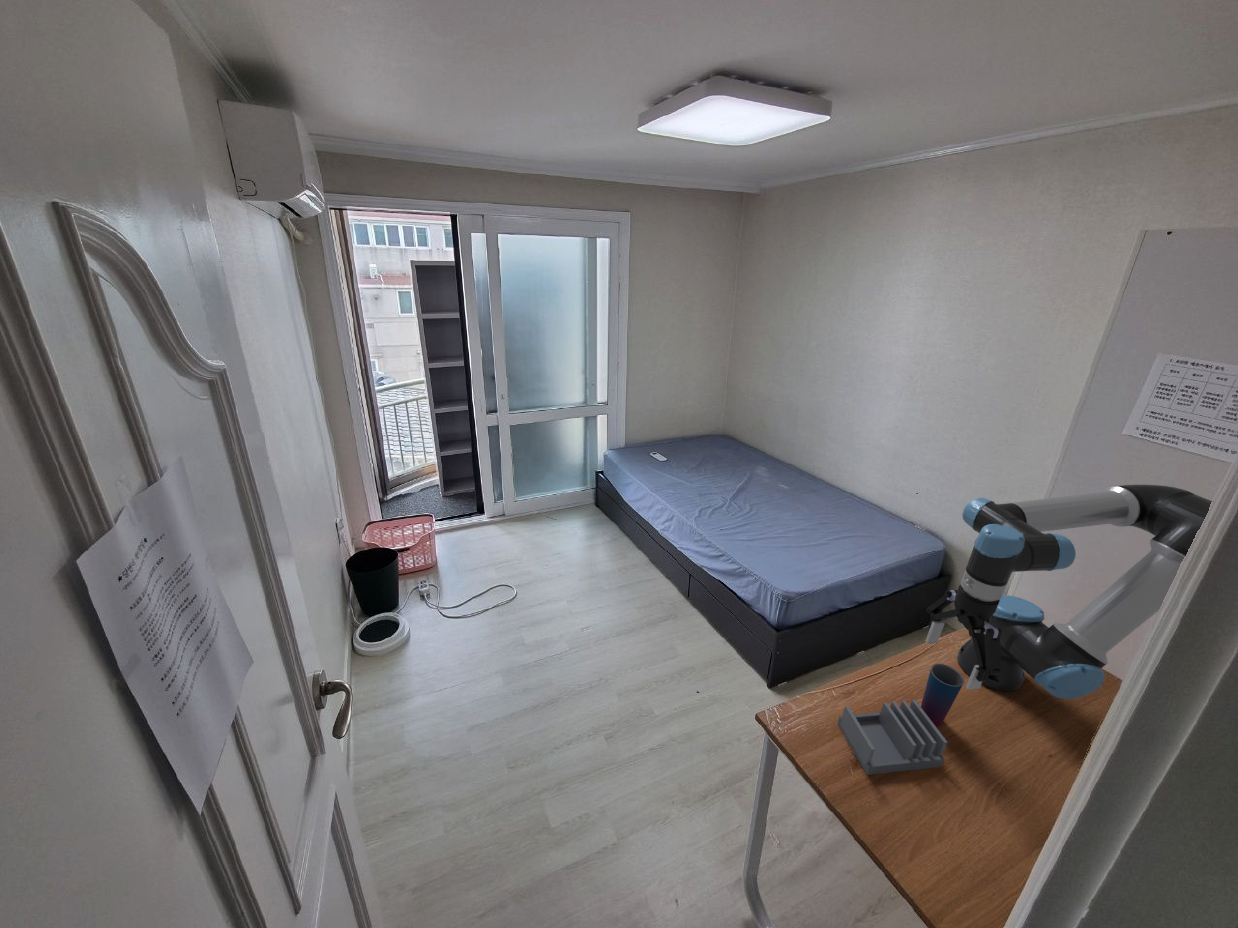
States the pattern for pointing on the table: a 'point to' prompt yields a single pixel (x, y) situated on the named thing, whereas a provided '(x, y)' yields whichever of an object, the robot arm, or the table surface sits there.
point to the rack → (893, 738)
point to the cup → (941, 692)
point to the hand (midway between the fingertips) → (950, 663)
